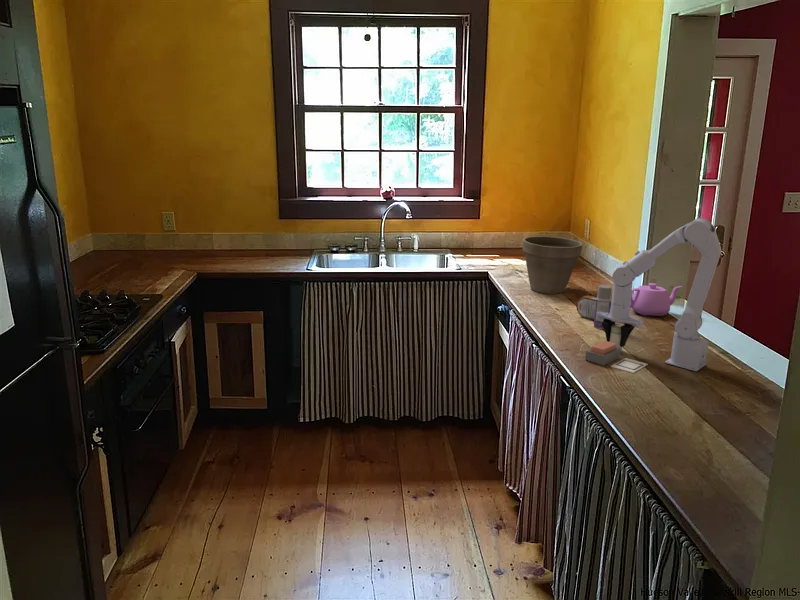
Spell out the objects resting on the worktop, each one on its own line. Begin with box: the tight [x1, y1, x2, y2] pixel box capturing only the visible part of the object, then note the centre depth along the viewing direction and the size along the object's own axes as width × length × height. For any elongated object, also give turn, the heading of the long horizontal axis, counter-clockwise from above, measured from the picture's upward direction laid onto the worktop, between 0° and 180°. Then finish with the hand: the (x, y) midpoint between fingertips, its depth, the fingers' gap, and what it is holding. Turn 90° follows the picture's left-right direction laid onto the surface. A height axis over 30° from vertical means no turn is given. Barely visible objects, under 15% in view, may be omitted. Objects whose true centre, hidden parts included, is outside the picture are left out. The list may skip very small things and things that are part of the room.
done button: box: [590, 340, 616, 355], centre depth 198 cm, size 4×8×2 cm, turn 136°
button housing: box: [584, 347, 621, 366], centre depth 199 cm, size 6×10×3 cm, turn 136°
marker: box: [610, 324, 623, 353], centre depth 206 cm, size 4×4×8 cm
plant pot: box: [522, 235, 583, 295], centre depth 277 cm, size 25×25×22 cm
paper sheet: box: [610, 357, 649, 374], centre depth 194 cm, size 7×10×1 cm
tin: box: [576, 295, 612, 321], centre depth 238 cm, size 15×3×8 cm, turn 47°
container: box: [593, 284, 613, 330], centre depth 228 cm, size 5×5×15 cm
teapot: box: [630, 282, 683, 317], centre depth 248 cm, size 20×13×12 cm, turn 89°
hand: (615, 344), depth 206 cm, fingers closed on marker, 4 cm apart
